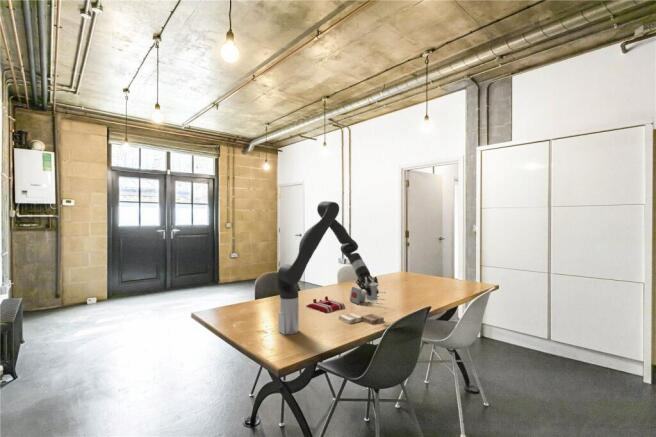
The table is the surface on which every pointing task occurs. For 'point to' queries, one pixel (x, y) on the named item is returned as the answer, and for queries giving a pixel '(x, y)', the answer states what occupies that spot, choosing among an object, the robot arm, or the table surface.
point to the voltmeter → (359, 295)
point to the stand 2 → (372, 318)
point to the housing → (372, 292)
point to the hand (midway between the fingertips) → (373, 294)
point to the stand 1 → (350, 318)
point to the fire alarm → (326, 305)
